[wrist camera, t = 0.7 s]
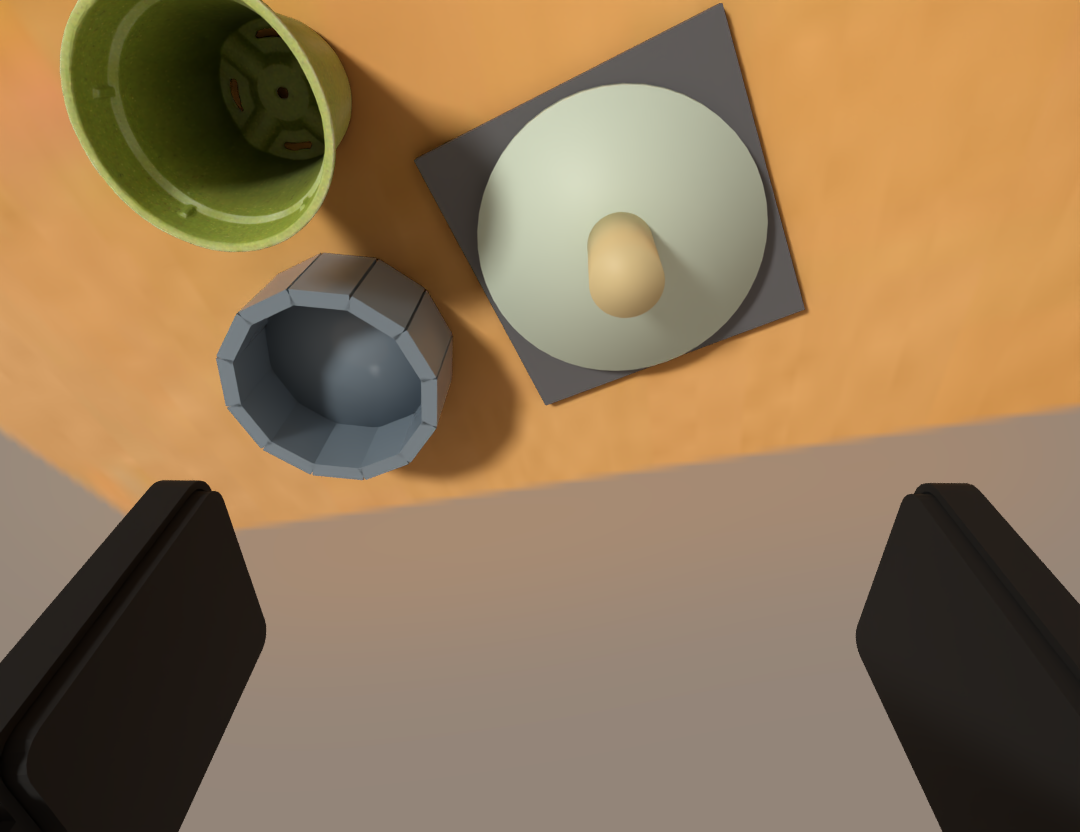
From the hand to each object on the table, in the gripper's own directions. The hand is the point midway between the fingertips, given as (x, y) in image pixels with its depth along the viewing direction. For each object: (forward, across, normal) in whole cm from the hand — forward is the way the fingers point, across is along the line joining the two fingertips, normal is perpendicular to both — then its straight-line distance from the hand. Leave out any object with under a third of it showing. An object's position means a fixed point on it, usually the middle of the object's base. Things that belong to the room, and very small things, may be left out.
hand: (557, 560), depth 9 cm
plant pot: (+27, +12, -4) cm, 30 cm away
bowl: (+27, +12, +10) cm, 31 cm away
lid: (+26, -3, +3) cm, 26 cm away
